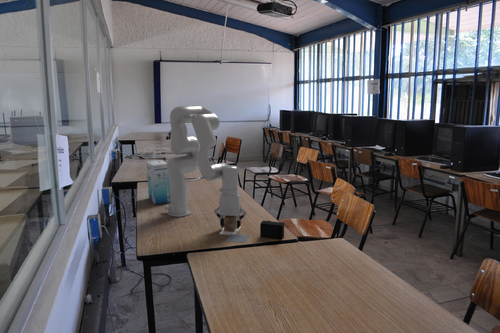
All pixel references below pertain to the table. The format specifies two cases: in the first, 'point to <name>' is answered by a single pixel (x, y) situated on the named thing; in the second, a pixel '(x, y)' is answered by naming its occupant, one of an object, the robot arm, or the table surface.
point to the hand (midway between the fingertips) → (230, 227)
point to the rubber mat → (237, 238)
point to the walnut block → (230, 223)
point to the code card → (229, 232)
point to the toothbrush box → (158, 182)
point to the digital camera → (272, 230)
